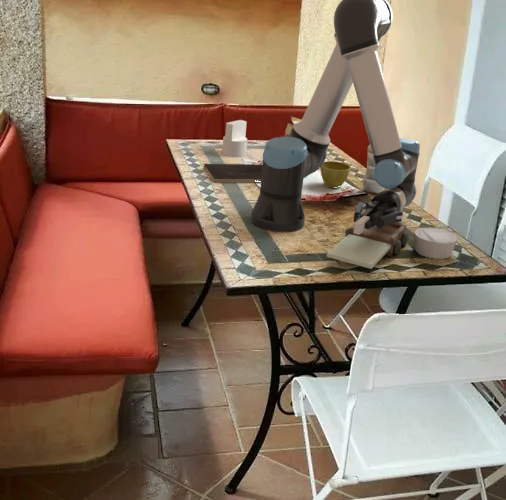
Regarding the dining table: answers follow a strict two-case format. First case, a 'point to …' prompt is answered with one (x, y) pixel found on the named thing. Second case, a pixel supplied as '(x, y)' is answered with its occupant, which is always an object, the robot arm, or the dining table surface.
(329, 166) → the flower pot
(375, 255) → the panel
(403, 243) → the flatbed cart
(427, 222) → the dining table surface
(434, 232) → the ramekin
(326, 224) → the dining table surface
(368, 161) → the plastic bottle
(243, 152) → the cylinder with rectangular tab
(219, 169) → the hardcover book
